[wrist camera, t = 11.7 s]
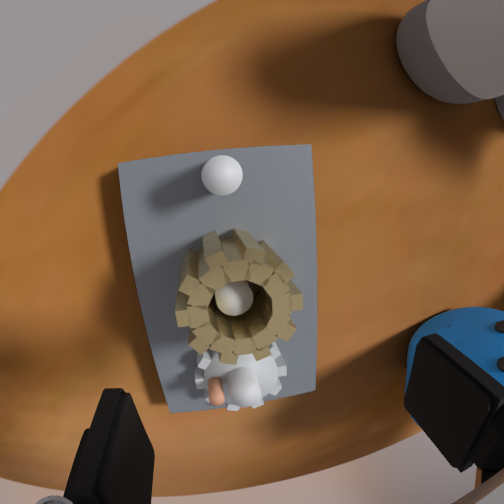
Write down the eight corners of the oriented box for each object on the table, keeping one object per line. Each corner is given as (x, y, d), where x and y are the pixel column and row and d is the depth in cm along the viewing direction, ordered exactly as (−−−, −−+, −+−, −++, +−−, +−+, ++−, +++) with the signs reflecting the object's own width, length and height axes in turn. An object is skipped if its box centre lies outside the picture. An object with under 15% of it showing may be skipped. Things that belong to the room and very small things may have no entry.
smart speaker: (402, 110, 21) (548, 90, 8) (370, 11, 19) (483, -60, 5) (470, 105, 22) (587, 99, 9) (443, 21, 20) (547, -16, 6)
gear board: (301, 146, 21) (333, 140, 16) (307, 376, 26) (330, 417, 21) (124, 163, 19) (101, 161, 14) (171, 397, 24) (169, 444, 19)
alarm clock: (380, 384, 28) (463, 484, 14) (380, 336, 26) (487, 441, 12) (469, 336, 29) (555, 399, 15) (474, 290, 28) (576, 347, 13)
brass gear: (275, 223, 20) (300, 241, 15) (280, 314, 21) (303, 352, 17) (173, 235, 19) (165, 257, 14) (188, 327, 21) (187, 370, 16)
